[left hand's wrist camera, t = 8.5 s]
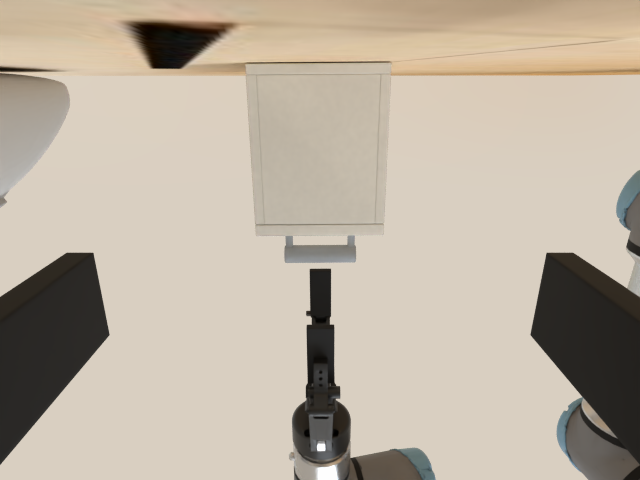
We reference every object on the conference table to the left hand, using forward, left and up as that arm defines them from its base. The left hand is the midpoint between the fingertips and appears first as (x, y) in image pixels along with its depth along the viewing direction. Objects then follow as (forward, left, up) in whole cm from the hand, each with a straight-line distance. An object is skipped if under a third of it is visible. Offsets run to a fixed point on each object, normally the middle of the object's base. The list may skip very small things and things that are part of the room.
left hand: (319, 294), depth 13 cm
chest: (+22, -15, -7) cm, 28 cm away
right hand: (+26, -18, +17) cm, 36 cm away
